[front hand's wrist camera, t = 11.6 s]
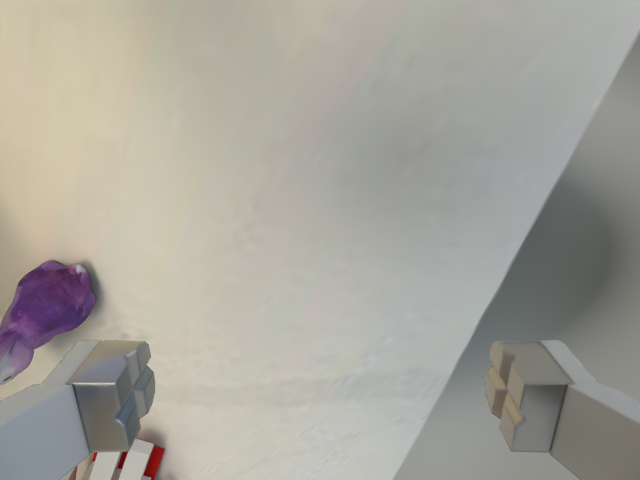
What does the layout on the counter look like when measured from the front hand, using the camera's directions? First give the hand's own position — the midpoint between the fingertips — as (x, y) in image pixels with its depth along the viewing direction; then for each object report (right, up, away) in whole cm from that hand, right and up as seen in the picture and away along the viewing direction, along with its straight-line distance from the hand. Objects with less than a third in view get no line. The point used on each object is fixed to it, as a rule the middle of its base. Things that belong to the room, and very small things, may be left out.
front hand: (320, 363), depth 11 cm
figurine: (-32, -4, +45) cm, 56 cm away
